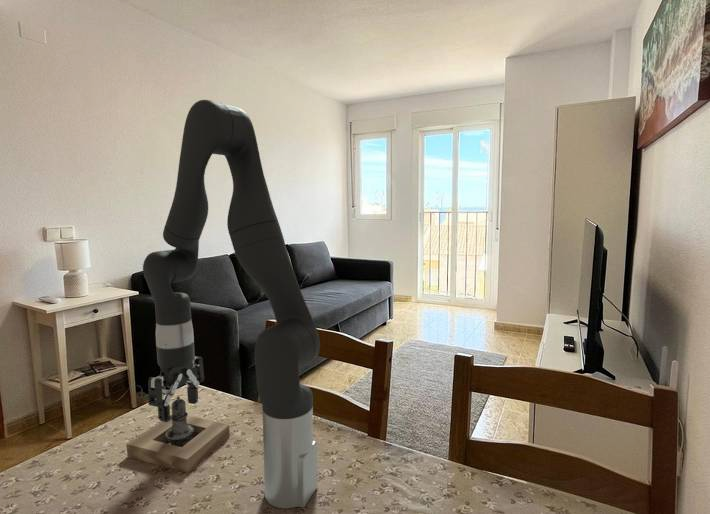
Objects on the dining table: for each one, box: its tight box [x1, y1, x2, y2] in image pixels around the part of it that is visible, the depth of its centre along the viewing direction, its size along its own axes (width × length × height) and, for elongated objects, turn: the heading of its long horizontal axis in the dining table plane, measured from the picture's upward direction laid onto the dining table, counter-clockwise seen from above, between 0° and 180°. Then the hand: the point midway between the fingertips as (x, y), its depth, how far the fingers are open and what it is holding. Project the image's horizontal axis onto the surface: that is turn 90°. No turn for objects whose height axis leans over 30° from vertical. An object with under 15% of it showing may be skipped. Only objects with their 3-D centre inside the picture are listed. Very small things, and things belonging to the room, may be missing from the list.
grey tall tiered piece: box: [166, 395, 194, 447], centre depth 93 cm, size 6×6×12 cm
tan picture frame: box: [126, 414, 231, 474], centre depth 93 cm, size 16×14×3 cm
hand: (179, 411), depth 92 cm, fingers open, 8 cm apart
